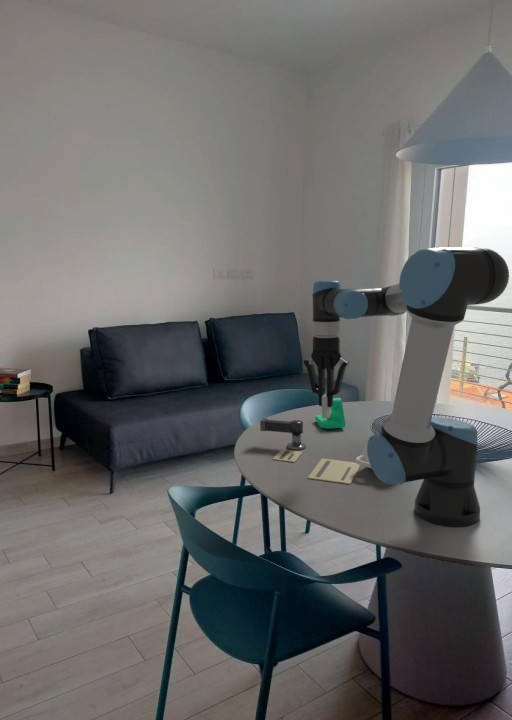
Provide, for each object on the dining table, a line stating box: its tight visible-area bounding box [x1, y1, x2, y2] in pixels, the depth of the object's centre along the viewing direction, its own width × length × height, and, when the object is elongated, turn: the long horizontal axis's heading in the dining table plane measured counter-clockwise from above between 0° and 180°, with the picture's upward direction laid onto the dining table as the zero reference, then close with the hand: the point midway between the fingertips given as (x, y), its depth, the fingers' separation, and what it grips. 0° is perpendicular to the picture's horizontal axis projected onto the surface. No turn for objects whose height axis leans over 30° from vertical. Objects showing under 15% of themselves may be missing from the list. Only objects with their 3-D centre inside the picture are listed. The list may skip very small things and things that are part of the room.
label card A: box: [272, 449, 304, 464], centre depth 181 cm, size 9×7×1 cm
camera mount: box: [315, 397, 346, 429], centre depth 211 cm, size 12×8×10 cm, turn 11°
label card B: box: [307, 457, 361, 485], centre depth 169 cm, size 16×12×1 cm
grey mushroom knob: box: [286, 433, 307, 451], centre depth 189 cm, size 6×6×5 cm
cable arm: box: [259, 417, 304, 435], centre depth 189 cm, size 14×4×4 cm, turn 74°
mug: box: [354, 443, 372, 470], centre depth 167 cm, size 12×10×8 cm
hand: (325, 417), depth 168 cm, fingers closed
